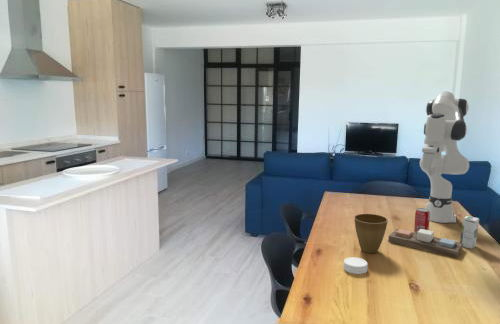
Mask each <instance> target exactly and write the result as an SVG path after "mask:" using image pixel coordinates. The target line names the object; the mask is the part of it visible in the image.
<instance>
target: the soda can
mask: <svg viewBox="0 0 500 324" xmlns="http://www.w3.org/2000/svg"><path fill="white" fill-rule="evenodd" d="M430 221H431V220H430V212H429V210H428V209H426V207H425V208H424V207H418V208H416V210H415V213H414V226H413V232H414V233H417V232H418V231H419V230H420V229H424V230H429V231H430Z"/></svg>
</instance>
